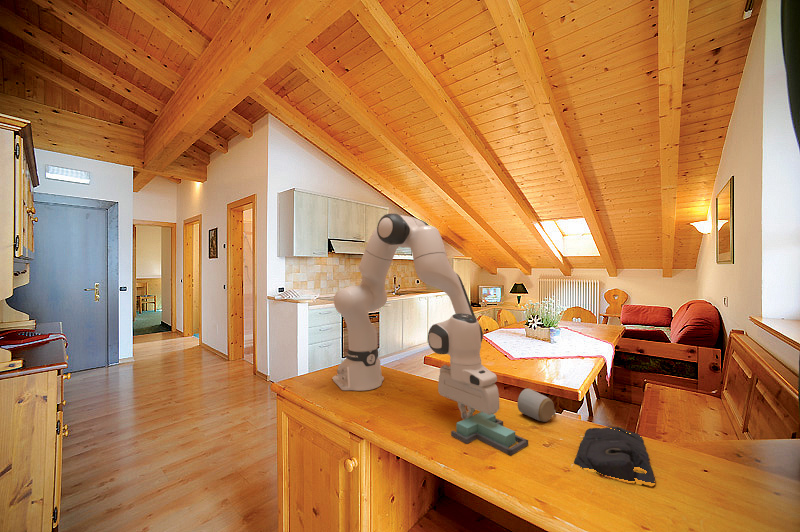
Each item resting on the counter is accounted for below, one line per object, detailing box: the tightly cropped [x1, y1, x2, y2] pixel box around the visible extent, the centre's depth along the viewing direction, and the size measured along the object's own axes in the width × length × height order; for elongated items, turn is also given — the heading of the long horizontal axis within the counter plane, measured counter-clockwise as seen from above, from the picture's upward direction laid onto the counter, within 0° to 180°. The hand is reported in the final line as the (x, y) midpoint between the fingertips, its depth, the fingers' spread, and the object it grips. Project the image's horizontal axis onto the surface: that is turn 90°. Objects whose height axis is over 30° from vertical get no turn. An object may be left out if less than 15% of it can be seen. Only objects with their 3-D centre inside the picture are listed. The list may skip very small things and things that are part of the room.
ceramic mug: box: [516, 388, 556, 423], centre depth 102 cm, size 11×8×8 cm
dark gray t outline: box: [450, 418, 529, 457], centre depth 90 cm, size 16×16×1 cm
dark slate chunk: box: [573, 426, 656, 483], centre depth 81 cm, size 15×22×5 cm
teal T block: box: [455, 411, 517, 448], centre depth 91 cm, size 13×12×3 cm
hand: (466, 419), depth 97 cm, fingers closed
